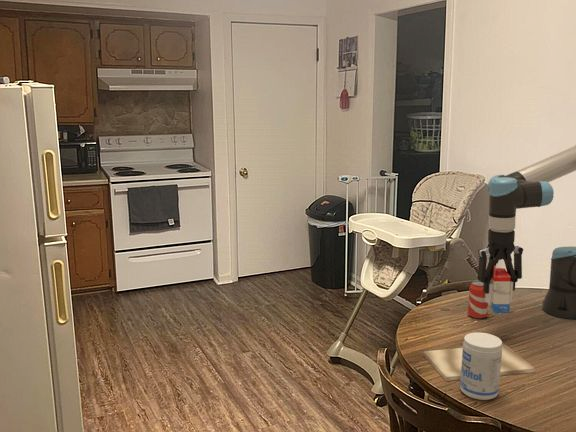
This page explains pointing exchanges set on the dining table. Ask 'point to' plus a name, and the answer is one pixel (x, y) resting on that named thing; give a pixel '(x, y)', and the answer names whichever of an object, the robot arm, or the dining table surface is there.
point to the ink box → (500, 291)
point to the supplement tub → (481, 365)
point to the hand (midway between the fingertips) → (498, 301)
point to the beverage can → (477, 301)
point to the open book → (451, 362)
